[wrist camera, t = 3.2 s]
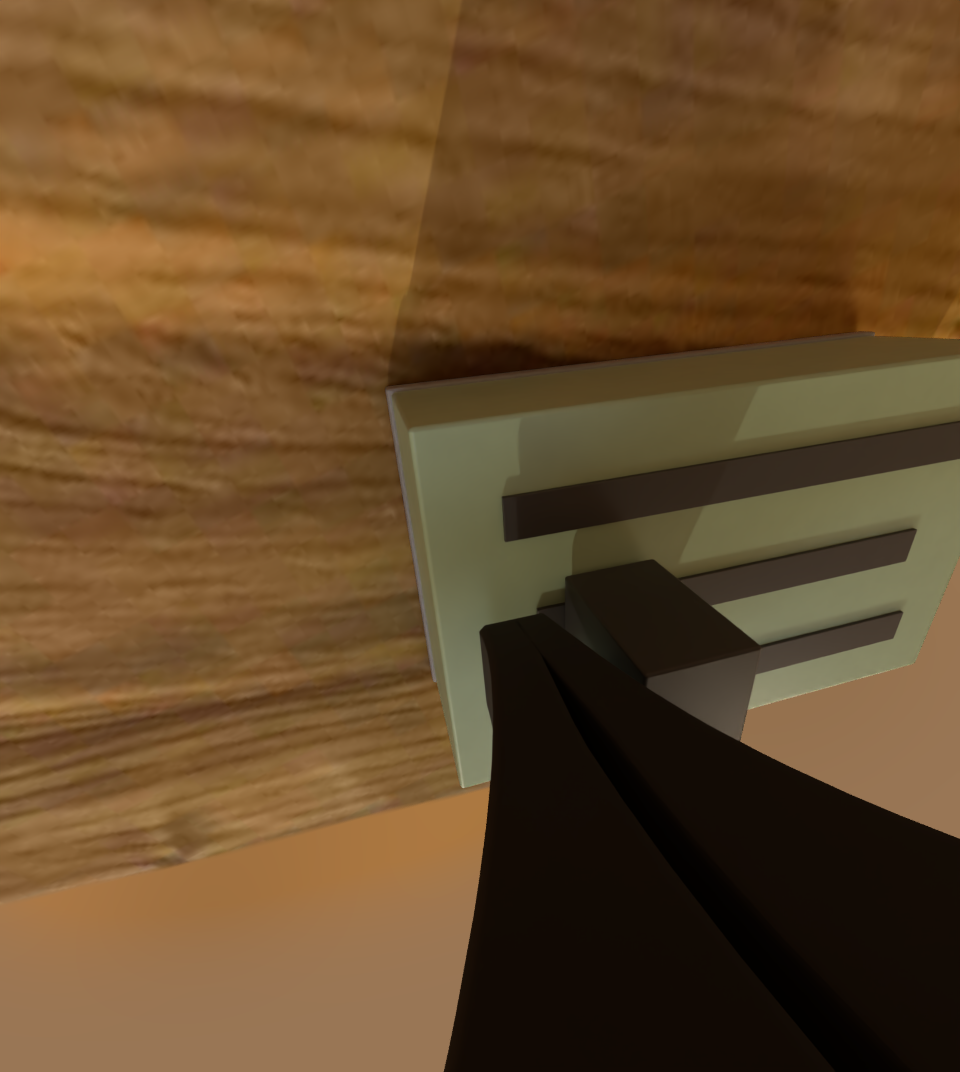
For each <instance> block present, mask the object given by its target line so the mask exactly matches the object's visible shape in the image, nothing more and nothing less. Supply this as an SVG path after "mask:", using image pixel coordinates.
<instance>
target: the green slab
mask: <svg viewBox="0 0 960 1072" xmlns="http://www.w3.org/2000/svg"><path fill="white" fill-rule="evenodd" d="M874 335H875V333H874V332H866V331H859V332H851V333H842V334H833V335H825V336H816V337H808V338H799V339H790V340H782V341H773V342H765V343H756V344H747V345H739V346H730V347H722V348H713V349H704V350H696V351H687V352H679V353H670V354H661V355H653V356H644V357H636V358H627V359H618V360H610V361H601V362H593V363H584V364H575V365H567V366H558V367H550V368H541V369H532V370H524V371H515V372H507V373H498V374H489V375H481V376H472V377H464V378H455V379H446V380H438V381H429V382H421V383H412V384H403V385H395V386H387V387H386V388H385V391H386V397H387V404H388V410H389V416H390V422H391V428H392V434H393V440H394V447H395V453H396V459H397V465H398V471H399V477H400V483H401V489H402V496H403V502H404V508H405V514H406V520H407V526H408V532H409V539H410V545H411V551H412V557H413V563H414V569H415V575H416V582H417V588H418V594H419V600H420V606H421V612H422V618H423V624H424V631H425V637H426V643H427V649H428V655H429V661H430V667H431V673H432V678H433V681H434V682H437V685H438V689H439V694H440V698H441V703H442V707H443V712H444V716H445V720H446V725H447V729H448V734H449V738H450V743H451V747H452V751H453V756H454V760H455V765H456V769H457V773H458V778H459V782H460V785H461V787H462V788H466V787H470V786H473V785H477V784H480V783H484V782H488V781H490V780H491V765H492V735H493V728H492V724H491V719H490V715H489V711H488V707H487V703H486V694H485V684H484V674H483V664H482V654H481V644H480V635H479V631H480V630H481V629H482V628H483V627H484V625H488V624H493V623H498V622H502V621H507V620H512V619H516V618H521V617H525V616H530V615H535V614H539V613H544V614H545V615H546V616H548V617H549V618H550V619H552V620H553V621H555V622H556V623H557V624H559V625H560V626H561V627H563V628H564V629H565V577H567V576H571V575H576V574H580V573H585V572H590V571H595V570H600V569H605V568H610V567H615V566H620V565H625V564H630V563H635V562H640V561H645V560H650V559H654V560H655V561H657V562H658V563H659V564H660V565H662V566H663V567H664V568H665V569H667V570H668V571H669V572H670V573H671V574H673V575H674V576H675V577H676V578H678V579H679V580H680V581H681V582H683V583H684V584H685V585H686V586H688V587H689V588H690V589H691V590H692V591H694V592H695V593H696V594H697V595H699V596H700V597H701V598H702V599H704V600H705V601H706V602H707V603H709V604H710V605H711V606H712V607H713V608H715V609H716V610H717V611H718V612H720V613H721V614H722V615H723V616H725V617H726V618H727V619H728V620H730V621H731V622H732V623H733V624H734V625H736V626H737V627H738V628H739V629H741V630H742V631H743V632H744V633H746V634H747V635H748V636H749V637H751V638H752V639H753V640H754V641H756V642H757V643H758V644H759V645H760V646H761V649H762V650H761V654H760V658H759V662H758V667H757V671H756V675H755V680H754V684H753V688H752V692H751V697H750V701H749V705H748V709H752V708H755V707H759V706H762V705H766V704H769V703H773V702H777V701H780V700H784V699H787V698H791V697H795V696H799V695H802V694H806V693H809V692H813V691H817V690H820V689H824V688H828V687H831V686H834V685H838V684H842V683H846V682H849V681H853V680H857V679H860V678H863V677H867V676H871V675H875V674H878V673H882V672H885V671H889V670H893V669H896V668H900V667H903V666H907V665H911V664H913V663H915V661H916V659H917V656H918V654H919V652H920V649H921V647H922V644H923V642H924V640H925V637H926V635H927V632H928V630H929V628H930V625H931V623H932V621H933V618H934V616H935V614H936V611H937V609H938V607H939V604H940V602H941V599H942V597H943V595H944V592H945V590H946V588H947V585H948V583H949V580H950V578H951V576H952V573H953V571H954V569H955V566H956V564H957V561H958V559H959V557H960V339H938V338H912V337H885V336H874Z"/></svg>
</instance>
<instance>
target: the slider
mask: <svg viewBox="0 0 960 1072" xmlns="http://www.w3.org/2000/svg"><path fill="white" fill-rule="evenodd" d="M565 630H567V631H568V632H569V633H571V634H572V635H573V636H575V637H576V638H577V639H579V640H580V641H581V642H583V643H584V644H585V645H587V646H588V647H589V648H591V649H592V650H593V651H595V652H596V653H597V654H599V655H600V656H602V657H603V658H604V659H606V660H607V661H609V662H610V663H612V664H613V665H614V666H616V667H617V668H619V669H620V670H622V671H623V672H625V673H626V674H627V675H629V676H630V677H632V678H633V679H635V680H636V681H638V682H639V683H641V684H642V685H644V686H645V687H647V688H648V689H650V690H651V691H653V692H655V693H656V694H658V695H659V696H661V697H663V698H664V699H666V700H668V701H669V702H671V703H672V704H674V705H676V706H677V707H679V708H681V709H682V710H684V711H685V712H687V713H689V714H690V715H692V716H694V717H696V718H697V719H699V720H701V721H703V722H704V723H706V724H708V725H710V726H711V727H713V728H715V729H717V730H719V731H721V732H723V733H725V734H727V735H728V736H730V737H732V738H734V739H736V740H738V741H740V740H741V735H742V731H743V727H744V722H745V717H746V714H747V710H748V705H749V701H750V697H751V692H752V688H753V684H754V680H755V675H756V671H757V667H758V662H759V658H760V654H761V650H762V649H761V646H760V645H759V644H758V643H757V642H756V641H754V640H753V639H752V638H751V637H749V636H748V635H747V634H746V633H744V632H743V631H742V630H741V629H739V628H738V627H737V626H736V625H734V624H733V623H732V622H731V621H730V620H728V619H727V618H726V617H725V616H723V615H722V614H721V613H720V612H718V611H717V610H716V609H715V608H713V607H712V606H711V605H710V604H709V603H707V602H706V601H705V600H704V599H702V598H701V597H700V596H699V595H697V594H696V593H695V592H694V591H692V590H691V589H690V588H689V587H688V586H686V585H685V584H684V583H683V582H681V581H680V580H679V579H678V578H676V577H675V576H674V575H673V574H671V573H670V572H669V571H668V570H667V569H665V568H664V567H663V566H662V565H660V564H659V563H658V562H657V561H655V560H654V559H650V560H645V561H640V562H635V563H630V564H625V565H620V566H615V567H610V568H605V569H600V570H595V571H590V572H585V573H580V574H576V575H571V576H567V577H565Z"/></svg>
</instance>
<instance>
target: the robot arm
mask: <svg viewBox="0 0 960 1072" xmlns="http://www.w3.org/2000/svg"><path fill="white" fill-rule="evenodd" d="M479 635H480V644H481V654H482V664H483V674H484V684H485V694H486V703H487V707H488V711H489V715H490V719H491V724H492V728H493V735H492V765H491V780H490V793H489V803H488V813H487V824H486V832H485V839H484V848H483V855H482V863H481V870H480V878H479V884H478V891H477V898H476V904H475V911H474V917H473V923H472V928H471V933H470V939H469V944H468V950H467V955H466V961H465V966H464V972H463V978H462V983H461V989H460V994H459V1000H458V1005H457V1011H456V1016H455V1021H454V1026H453V1031H452V1036H451V1041H450V1046H449V1050H448V1055H447V1060H446V1064H445V1069H444V1072H960V839H959V838H956V837H954V836H951V835H948V834H946V833H943V832H941V831H938V830H935V829H933V828H931V827H928V826H925V825H923V824H920V823H918V822H915V821H913V820H910V819H908V818H905V817H903V816H900V815H898V814H895V813H893V812H891V811H888V810H886V809H883V808H881V807H879V806H876V805H874V804H872V803H869V802H867V801H864V800H862V799H860V798H857V797H855V796H852V795H850V794H848V793H846V792H844V791H841V790H839V789H837V788H835V787H833V786H831V785H828V784H826V783H824V782H822V781H820V780H817V779H815V778H813V777H811V776H809V775H807V774H804V773H802V772H800V771H798V770H796V769H793V768H791V767H789V766H787V765H785V764H783V763H781V762H779V761H777V760H775V759H772V758H771V757H769V756H767V755H765V754H762V753H761V752H759V751H757V750H755V749H753V748H751V747H749V746H747V745H745V744H744V743H742V742H740V741H738V740H736V739H734V738H732V737H730V736H728V735H727V734H725V733H723V732H721V731H719V730H717V729H715V728H713V727H711V726H710V725H708V724H706V723H704V722H703V721H701V720H699V719H697V718H696V717H694V716H692V715H690V714H689V713H687V712H685V711H684V710H682V709H681V708H679V707H677V706H676V705H674V704H672V703H671V702H669V701H668V700H666V699H664V698H663V697H661V696H659V695H658V694H656V693H655V692H653V691H651V690H650V689H648V688H647V687H645V686H644V685H642V684H641V683H639V682H638V681H636V680H635V679H633V678H632V677H630V676H629V675H627V674H626V673H625V672H623V671H622V670H620V669H619V668H617V667H616V666H614V665H613V664H612V663H610V662H609V661H607V660H606V659H604V658H603V657H602V656H600V655H599V654H597V653H596V652H595V651H593V650H592V649H591V648H589V647H588V646H587V645H585V644H584V643H583V642H581V641H580V640H579V639H577V638H576V637H575V636H573V635H572V634H571V633H569V632H568V631H567V630H565V629H564V628H563V627H561V626H560V625H559V624H557V623H556V622H555V621H553V620H552V619H550V618H549V617H548V616H546V615H545V614H544V613H539V614H535V615H530V616H525V617H521V618H516V619H512V620H507V621H502V622H498V623H493V624H488V625H484V627H483V628H482V629H481V630H480V631H479Z"/></svg>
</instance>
